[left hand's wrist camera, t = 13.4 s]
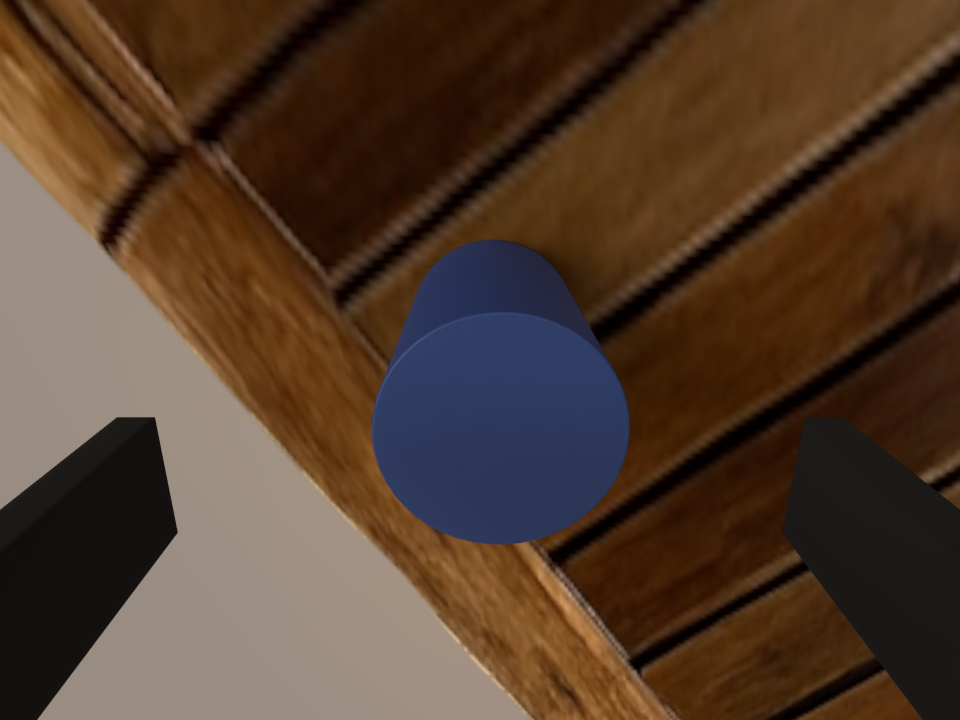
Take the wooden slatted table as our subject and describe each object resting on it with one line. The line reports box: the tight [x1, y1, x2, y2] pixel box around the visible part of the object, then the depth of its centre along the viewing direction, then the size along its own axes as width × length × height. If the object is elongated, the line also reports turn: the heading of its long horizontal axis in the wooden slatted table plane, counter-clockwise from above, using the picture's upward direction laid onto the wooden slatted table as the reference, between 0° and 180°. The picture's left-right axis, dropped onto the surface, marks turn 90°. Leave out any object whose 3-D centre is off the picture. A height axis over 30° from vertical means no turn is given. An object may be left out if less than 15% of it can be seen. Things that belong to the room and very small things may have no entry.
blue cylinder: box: [372, 240, 630, 544], centre depth 22 cm, size 7×7×11 cm
